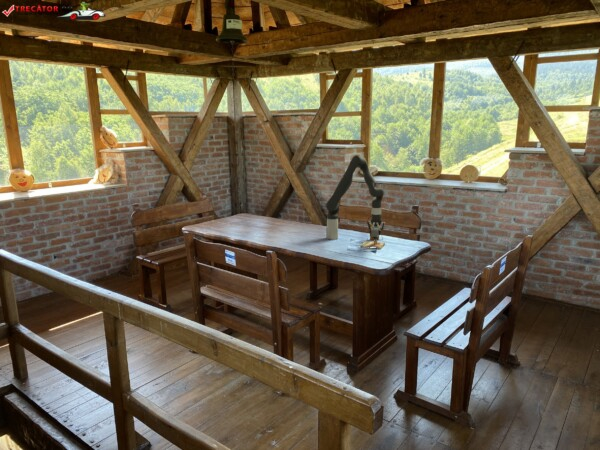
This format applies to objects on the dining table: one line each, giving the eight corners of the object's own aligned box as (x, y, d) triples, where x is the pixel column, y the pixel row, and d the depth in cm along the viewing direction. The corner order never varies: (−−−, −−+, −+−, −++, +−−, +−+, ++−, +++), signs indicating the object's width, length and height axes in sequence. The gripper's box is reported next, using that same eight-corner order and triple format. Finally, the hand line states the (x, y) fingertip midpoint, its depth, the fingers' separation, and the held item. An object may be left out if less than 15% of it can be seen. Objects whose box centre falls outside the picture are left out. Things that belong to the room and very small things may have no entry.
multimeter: (369, 242, 362) (370, 218, 358) (365, 239, 371) (366, 216, 367) (386, 241, 364) (387, 217, 360) (382, 238, 374) (382, 215, 370)
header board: (360, 247, 346) (360, 241, 345) (365, 243, 360) (365, 236, 359) (380, 249, 340) (380, 242, 339) (385, 244, 354) (385, 238, 353)
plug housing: (371, 236, 344) (371, 230, 343) (374, 233, 353) (374, 227, 352) (377, 237, 342) (377, 230, 341) (380, 234, 351) (380, 227, 350)
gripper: (366, 213, 343) (365, 235, 347) (384, 214, 338) (384, 236, 341) (368, 212, 350) (368, 233, 354) (386, 213, 345) (386, 234, 348)
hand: (376, 234), depth 348 cm, fingers closed on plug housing, 4 cm apart
